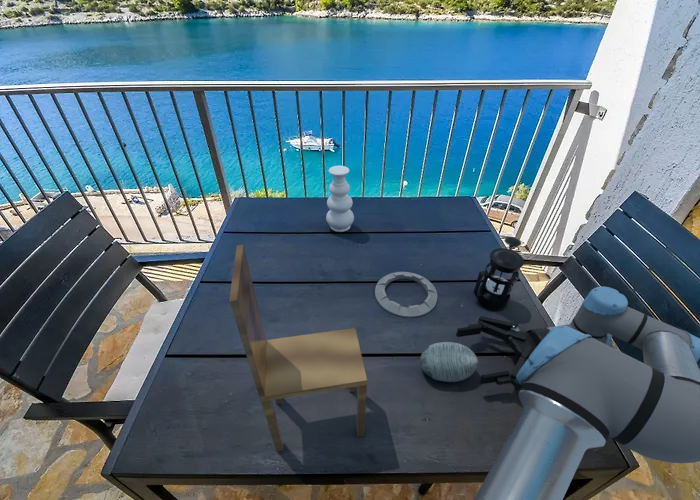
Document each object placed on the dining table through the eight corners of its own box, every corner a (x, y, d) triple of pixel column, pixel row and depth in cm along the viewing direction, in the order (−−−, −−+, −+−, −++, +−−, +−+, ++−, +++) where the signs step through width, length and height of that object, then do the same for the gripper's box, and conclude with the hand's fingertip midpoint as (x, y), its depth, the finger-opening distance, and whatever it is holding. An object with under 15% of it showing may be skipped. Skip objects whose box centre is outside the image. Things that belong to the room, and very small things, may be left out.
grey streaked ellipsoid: (415, 383, 87) (435, 380, 78) (412, 344, 91) (430, 337, 82) (463, 383, 90) (487, 381, 82) (458, 346, 94) (480, 339, 85)
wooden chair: (364, 435, 76) (372, 283, 48) (276, 451, 74) (228, 300, 45) (354, 385, 85) (356, 233, 57) (276, 397, 83) (236, 245, 54)
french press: (501, 287, 112) (523, 229, 98) (515, 309, 104) (541, 249, 90) (466, 290, 111) (483, 231, 97) (478, 313, 103) (498, 253, 89)
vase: (356, 221, 142) (357, 164, 126) (350, 237, 134) (350, 177, 118) (330, 218, 144) (328, 161, 128) (323, 233, 136) (319, 174, 120)
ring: (401, 327, 99) (402, 323, 98) (363, 287, 112) (363, 282, 111) (450, 300, 107) (451, 296, 106) (409, 265, 120) (410, 261, 119)
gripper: (524, 297, 96) (451, 306, 93) (587, 378, 76) (497, 394, 74) (516, 315, 100) (446, 325, 97) (574, 396, 81) (488, 411, 78)
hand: (468, 354), depth 86 cm, fingers open, 13 cm apart
